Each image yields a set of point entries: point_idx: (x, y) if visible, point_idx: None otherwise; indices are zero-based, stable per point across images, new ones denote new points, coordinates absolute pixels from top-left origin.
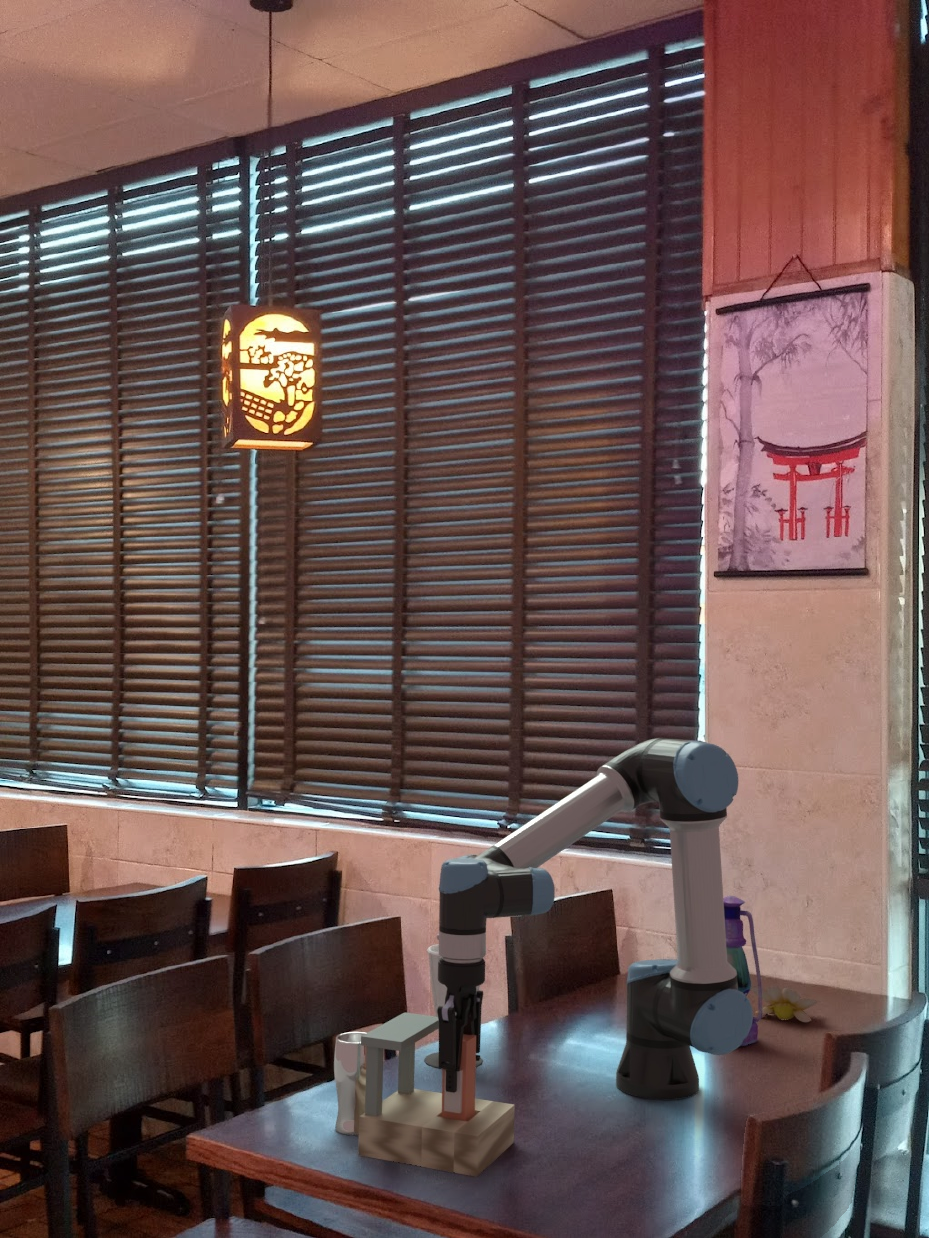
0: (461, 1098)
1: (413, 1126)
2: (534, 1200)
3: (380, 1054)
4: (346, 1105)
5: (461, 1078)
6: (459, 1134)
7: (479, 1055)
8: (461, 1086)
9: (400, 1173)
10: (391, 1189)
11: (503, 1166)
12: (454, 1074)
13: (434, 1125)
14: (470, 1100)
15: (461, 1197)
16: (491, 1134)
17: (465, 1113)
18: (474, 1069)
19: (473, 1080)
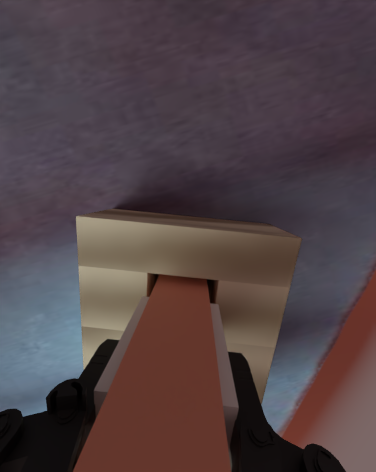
0: (214, 324)
1: (270, 360)
2: (344, 107)
3: None
4: None
5: (224, 374)
6: (291, 276)
7: (48, 399)
8: (219, 350)
9: (283, 320)
10: (340, 315)
11: (215, 197)
12: (260, 413)
13: (260, 330)
14: (177, 302)
15: (351, 223)
16: (216, 226)
17: (207, 294)
18: (132, 362)
19: (150, 333)
